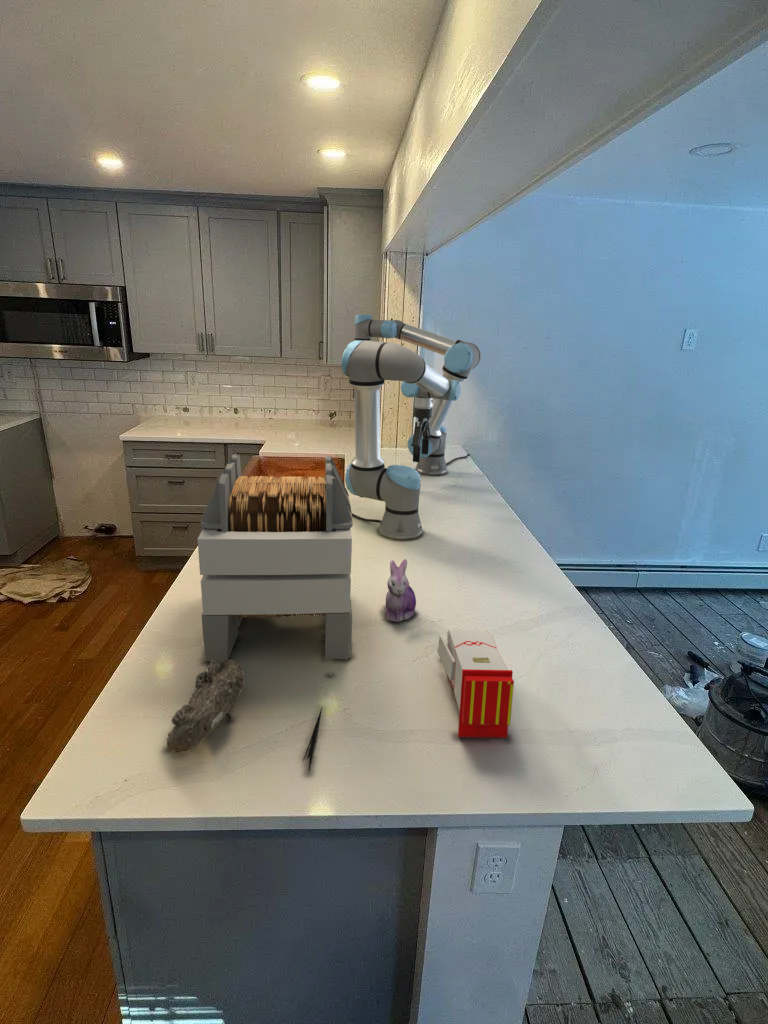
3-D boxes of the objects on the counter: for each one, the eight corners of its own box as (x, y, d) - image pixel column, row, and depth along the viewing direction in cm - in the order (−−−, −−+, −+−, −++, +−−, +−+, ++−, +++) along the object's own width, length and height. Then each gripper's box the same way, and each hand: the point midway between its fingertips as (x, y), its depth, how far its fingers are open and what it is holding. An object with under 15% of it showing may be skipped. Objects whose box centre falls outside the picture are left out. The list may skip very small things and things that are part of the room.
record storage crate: (225, 590, 155) (217, 445, 141) (345, 589, 159) (348, 447, 145) (202, 664, 123) (188, 485, 110) (352, 660, 127) (356, 487, 113)
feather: (331, 679, 122) (336, 673, 122) (307, 777, 96) (313, 769, 95) (324, 675, 122) (329, 669, 121) (298, 772, 95) (304, 764, 95)
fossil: (192, 660, 117) (244, 628, 112) (224, 691, 120) (276, 661, 115) (142, 746, 98) (202, 712, 93) (182, 779, 101) (242, 748, 96)
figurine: (392, 627, 141) (395, 572, 136) (374, 608, 149) (376, 556, 144) (425, 619, 145) (429, 566, 140) (405, 601, 154) (408, 550, 149)
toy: (488, 613, 130) (523, 677, 101) (484, 667, 133) (517, 744, 104) (435, 612, 130) (455, 676, 101) (432, 666, 133) (451, 743, 103)
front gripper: (424, 413, 219) (421, 466, 226) (439, 403, 241) (436, 451, 248) (405, 411, 221) (403, 464, 229) (422, 401, 243) (420, 449, 251)
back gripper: (360, 351, 249) (359, 400, 256) (378, 349, 272) (376, 393, 279) (344, 350, 251) (344, 399, 258) (363, 348, 274) (362, 392, 281)
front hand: (420, 457), depth 239 cm, fingers open, 13 cm apart
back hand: (360, 396), depth 268 cm, fingers open, 13 cm apart
